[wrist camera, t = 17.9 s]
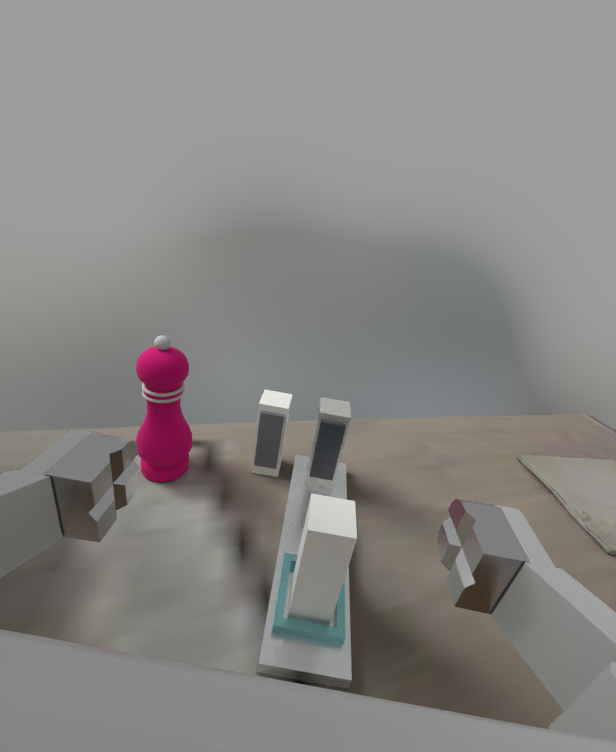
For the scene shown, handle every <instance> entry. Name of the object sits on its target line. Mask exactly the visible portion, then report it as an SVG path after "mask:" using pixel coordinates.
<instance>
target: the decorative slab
mask: <svg viewBox="0 0 616 752" xmlns="http://www.w3.org/2000/svg"><path fill="white" fill-rule="evenodd" d="M517 458H518V459H519V460H520V461H521V462H522V463H523V464H524V465H525V466H526V467H527V468H528V469H529V470H530V471H531V472H532V473H533V474H534V475H535V476H537V477H538V478H539V480H540V481H541V482H542V483H543V484H544V485H545V486H546V487H547V488H548V489H549V490H550V491H551V492H552V493H553V494H554V495H555V496H556V498H557V499H558V500H559V501H560V502H561V503H562V505H563V506H564V507H565V509H566V510H567V511H568V512H569V513H570V515H571V516H572V517H573V518H574V519H575V520H576V521H577V522H578V523H579V524H580V525H581V526H582V527H583V528H584V529H585V530H586V531H587V532H588V533H589V534H590V535H591V536H592V537H593V538H594V539H595V540H596V541H597V542H598V543H599V544H600V545H601V546H602V547H603V549H604V550H605V551H606V553H608V554H610V555H616V460H604V459H587V458H571V457H551V456H538V455H525V454H518V455H517Z"/></svg>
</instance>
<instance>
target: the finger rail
mask: <svg viewBox="0 0 616 752" xmlns="http://www.w3.org/2000/svg"><path fill="white" fill-rule="evenodd" d="M350 419H351V415H350V402H346V401H340V400H334V399H329V398H323V397H321V399H320V404H319V409H318V414H317V419H316V424H315V429H314V434H313V439H312V444H311V449H310V454H309V457H306V456H300V455H295V461H294V466H293V472H292V477H291V483H290V489H289V494H288V500H287V505H286V511H285V517H284V522H283V528H282V534H281V539H280V545H279V550H278V556H277V562H276V567H275V573H274V578H273V584H272V590H271V595H270V601H269V606H268V612H267V618H266V623H265V629H264V634H263V640H262V646H261V651H260V657H259V662H258V668H257V673H261V674H267V675H272V676H278V677H283V678H289V679H294V680H300V681H305V682H311V683H316V684H322V685H327V686H332V687H338V688H343V689H348V688H349V686H350V683H351V681H352V671H351V634H350V597H349V566H348V569H347V572H346V575H345V578H344V581H343V584H342V588H341V591H340V594H339V597H338V600H337V603H336V606H335V610H334V613H333V616H332V619H331V622H330V625H329V626H328V625H322V624H317V623H311V622H306V621H300V620H295V619H289V618H288V611H289V603H290V595H291V587H292V579H293V574H294V570H295V565H296V561H297V556H298V551H299V547H300V542H301V538H302V533H303V528H304V524H305V519H306V515H307V510H308V506H309V501H310V496H311V493H313V494H318V495H324V496H329V497H335V498H340V499H346V500H347V485H346V464H344V463H339V462H340V458H341V454H342V450H343V446H344V442H345V438H346V434H347V430H348V426H349V422H350Z"/></svg>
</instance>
